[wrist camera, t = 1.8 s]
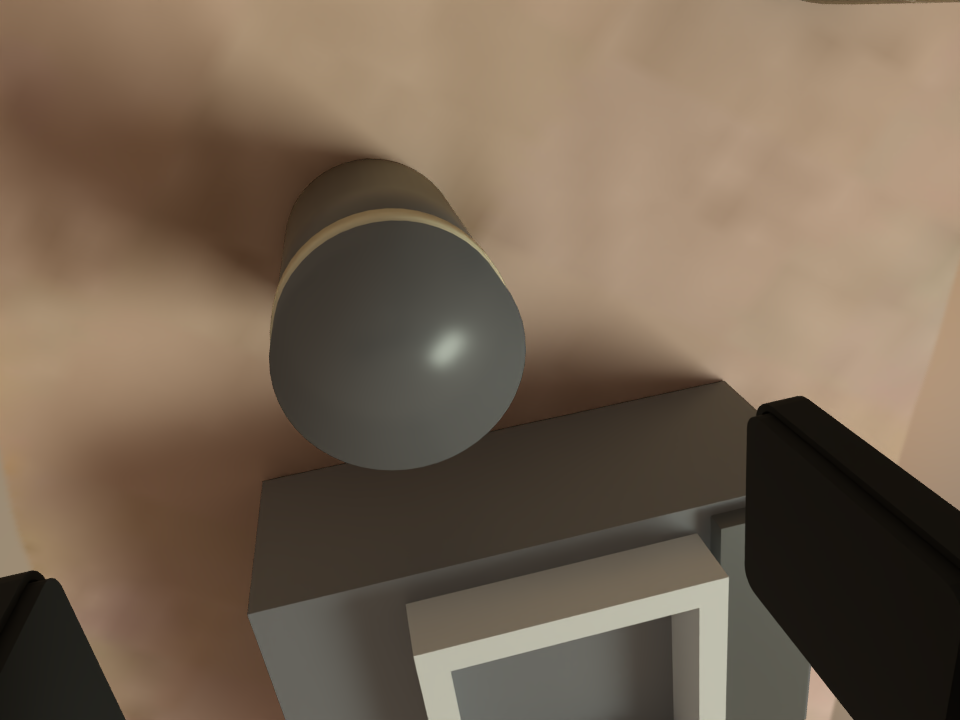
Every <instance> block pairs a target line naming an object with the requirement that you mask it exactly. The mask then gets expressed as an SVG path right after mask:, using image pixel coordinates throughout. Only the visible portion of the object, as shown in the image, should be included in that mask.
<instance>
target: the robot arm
mask: <svg viewBox="0 0 960 720" xmlns="http://www.w3.org/2000/svg"><path fill="white" fill-rule="evenodd" d="M744 565H745V573H746V577H747V580H748V583H749V585H750V587H751V589H752V590H753V592H754V593H755V595H756V596H757V597H758V599H759V600H760V601H761V602H762V604H763V605H764V606H765V608H766V609H767V610H768V611H769V613H770V614H771V615H772V616H773V618H774V619H775V620H776V622H777V623H778V624H779V625H780V627H781V628H782V629H783V630H784V632H785V633H786V634H787V636H788V637H789V638H790V639H791V641H792V642H793V643H794V644H795V646H796V647H797V648H798V650H799V651H800V652H801V653H802V655H803V656H804V657H805V658H806V660H807V661H808V662H809V664H810V665H811V666H812V667H813V669H814V670H815V671H816V672H817V674H818V675H819V676H820V678H821V679H822V680H823V681H824V683H825V684H826V685H827V686H828V688H829V689H830V690H831V692H832V693H833V694H834V695H835V697H836V698H837V699H838V700H839V702H840V703H841V704H842V706H843V707H844V708H845V709H846V710H847V712H848V713H849V714H850V716H851V717H852V718H853V719H854V720H960V511H959V510H958V509H956V508H955V507H953V506H952V505H951V504H949V503H948V502H947V501H945V500H944V499H943V498H941V497H940V496H939V495H937V494H936V493H934V492H933V491H932V490H930V489H929V488H928V487H926V486H925V485H924V484H922V483H921V482H920V481H918V480H917V479H916V478H914V477H913V476H911V475H910V474H909V473H907V472H906V471H905V470H903V469H902V468H901V467H899V466H898V465H897V464H895V463H894V462H893V461H891V460H890V459H889V458H887V457H886V456H884V455H883V454H882V453H880V452H879V451H878V450H876V449H875V448H874V447H872V446H871V445H870V444H868V443H867V442H866V441H864V440H863V439H861V438H860V437H859V436H857V435H856V434H855V433H853V432H852V431H851V430H849V429H848V428H847V427H845V426H844V425H843V424H841V423H840V422H838V421H837V420H836V419H834V418H833V417H832V416H830V415H829V414H828V413H826V412H825V411H824V410H822V409H821V408H820V407H818V406H817V405H815V404H814V403H813V402H811V401H810V400H809V399H807V398H805V397H803V396H796V397H792V398H787V399H783V400H778V401H774V402H770V403H765V404H762V405H761V406H760V407H759V408H758V410H757V413H756V416H754V417H751V418H750V419H749V421H748V423H747V446H746V504H745V561H744ZM0 720H125V718H124V715H123V713H122V711H121V709H120V707H119V705H118V703H117V701H116V699H115V697H114V695H113V692H112V690H111V688H110V686H109V684H108V682H107V680H106V678H105V676H104V674H103V672H102V669H101V667H100V665H99V663H98V661H97V659H96V657H95V655H94V653H93V651H92V649H91V646H90V644H89V642H88V640H87V638H86V636H85V634H84V632H83V630H82V628H81V625H80V623H79V621H78V619H77V617H76V615H75V613H74V611H73V609H72V607H71V605H70V602H69V600H68V598H67V596H66V594H65V592H64V590H63V588H62V586H61V584H60V583H59V582H58V581H57V580H56V579H54V578H49V579H45V578H44V577H43V575H42V574H40V573H39V572H38V571H33V570H32V571H28V572H24V573H19V574H15V575H11V576H6V577H2V578H0Z"/></svg>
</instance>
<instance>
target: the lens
mask: <svg viewBox="0 0 960 720" xmlns="http://www.w3.org/2000/svg"><path fill="white" fill-rule="evenodd" d="M525 354H526V346H525V333H524V328H523V323H522V319H521V316H520V313H519V310H518V308H517V306H516V304H515V302H514V300H513V298H512V296H511V294H510V292H509V291H508V289H507V288H506V285H505V283H504V281H503V279H502V277H501V276H500V274H499V272H498V271H497V269H496V268H495V266H494V265H493V263H492V262H491V260H490V259H489V258H488V256H487V255H486V253H485V252H484V251H483V249H482V248H481V247H480V246H479V245H478V244H477V243H476V242H475V241H474V240H473V238H472V237H471V235H470V234H469V232H468V231H467V229H466V228H465V227H464V225H463V224H462V222H461V221H460V219H459V218H458V216H457V215H456V213H455V212H454V210H453V209H452V207H451V206H450V205H449V203H448V202H447V200H446V199H445V197H444V196H443V195H442V193H441V192H440V190H439V189H438V188H437V187H436V186H435V185H434V184H433V183H432V182H431V181H430V180H428V179H427V178H426V177H425V176H423V175H422V174H420V173H419V172H417V171H415V170H414V169H412V168H409V167H407V166H405V165H403V164H399V163H396V162H393V161H387V160H381V159H364V160H355V161H351V162H347V163H344V164H341V165H339V166H336V167H333V168H332V169H330V170H328V171H326V172H324V173H323V174H322V175H320V176H319V177H318V178H316V179H315V180H314V181H313V182H312V183H311V184H310V185H309V186H308V187H307V188H306V189H305V190H304V191H303V192H302V194H301V195H300V196H299V198H298V200H297V201H296V203H295V205H294V207H293V209H292V211H291V214H290V216H289V219H288V224H287V228H286V234H285V241H284V248H283V255H282V263H281V270H280V277H279V284H278V287H277V290H276V294H275V298H274V303H273V309H272V316H271V326H270V352H269V364H270V375H271V380H272V385H273V389H274V391H275V394H276V397H277V400H278V402H279V404H280V406H281V408H282V410H283V411H284V413H285V415H286V417H287V418H288V419H289V421H290V422H291V423H292V425H293V426H294V427H295V429H296V430H297V431H298V432H299V433H300V434H301V435H302V436H303V437H304V438H305V439H306V440H308V441H309V442H310V443H312V444H313V445H314V446H316V447H317V448H318V449H320V450H322V451H323V452H325V453H327V454H328V455H330V456H332V457H334V458H337V459H339V460H341V461H344V462H346V463H349V464H353V465H356V466H360V467H365V468H370V469H377V470H407V469H413V468H419V467H424V466H428V465H431V464H435V463H438V462H441V461H443V460H446V459H448V458H451V457H453V456H455V455H457V454H458V453H460V452H462V451H464V450H466V449H467V448H469V447H470V446H472V445H473V444H475V443H476V442H477V441H479V440H480V439H481V438H482V437H483V436H484V435H486V434H487V433H488V432H489V431H490V430H491V429H492V428H493V427H494V426H495V425H496V423H497V422H498V421H499V420H500V419H501V417H502V416H503V415H504V413H505V412H506V410H507V409H508V408H509V406H510V404H511V402H512V400H513V398H514V396H515V395H516V392H517V389H518V387H519V384H520V381H521V378H522V374H523V369H524V364H525Z"/></svg>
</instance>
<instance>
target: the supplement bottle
mask: <svg viewBox="0 0 960 720" xmlns="http://www.w3.org/2000/svg"><path fill="white" fill-rule="evenodd" d="M802 1H805V2H811V3H819V4H896V3H943V2H960V0H802Z"/></svg>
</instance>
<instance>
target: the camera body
mask: <svg viewBox="0 0 960 720" xmlns="http://www.w3.org/2000/svg"><path fill="white" fill-rule="evenodd" d="M756 413H757V410H756V409H755V408H754V407H753V406H751V405H750V404H749V403H748V402H747V401H746V400H745V399H744V398H743V397H742V396H740V395H739V394H738V393H737V392H736V391H735V390H734V389H733V388H732V387H731V386H729V385H728V384H727V383H726V382H725V381H721V382H717V383H712V384H707V385H703V386H698V387H694V388H689V389H685V390H680V391H675V392H671V393H666V394H662V395H657V396H652V397H648V398H643V399H639V400H634V401H630V402H625V403H620V404H616V405H611V406H607V407H602V408H597V409H593V410H588V411H584V412H579V413H575V414H570V415H565V416H561V417H556V418H552V419H547V420H543V421H538V422H533V423H529V424H524V425H520V426H515V427H510V428H506V429H501V430H497V431H492V432H488V433H487V434H486V435H484V436H483V437H482V438H481V439H480V440H479V441H477V442H476V443H475V444H473V445H472V446H470V447H469V448H467V449H466V450H464V451H462V452H460V453H458V454H457V455H455V456H453V457H451V458H448V459H446V460H443V461H441V462H438V463H435V464H431V465H428V466H424V467H419V468H413V469H407V470H377V469H370V468H365V467H360V466H356V465H353V464H349V463H346V464H341V465H336V466H332V467H327V468H323V469H318V470H313V471H309V472H304V473H300V474H295V475H291V476H286V477H281V478H277V479H272V480H268V481H263V484H262V492H261V501H260V510H259V518H258V527H257V536H256V544H255V553H254V561H253V570H252V579H251V587H250V596H249V605H248V613H247V615H248V618H249V621H250V623H251V626H252V629H253V632H254V634H255V637H256V640H257V643H258V645H259V648H260V651H261V654H262V656H263V659H264V662H265V665H266V667H267V670H268V673H269V676H270V678H271V681H272V684H273V687H274V690H275V692H276V695H277V698H278V701H279V703H280V706H281V709H282V712H283V714H284V717H285V720H804V719H806V713H807V702H808V692H809V681H810V670H811V665H810V664H809V662H808V661H807V660H806V658H805V657H804V656H803V655H802V653H801V652H800V651H799V650H798V648H797V647H796V646H795V644H794V643H793V642H792V641H791V639H790V638H789V637H788V636H787V634H786V633H785V632H784V630H783V629H782V628H781V627H780V625H779V624H778V623H777V622H776V620H775V619H774V618H773V616H772V615H771V614H770V613H769V611H768V610H767V609H766V608H765V606H764V605H763V604H762V602H761V601H760V600H759V599H758V597H757V596H756V595H755V593H754V592H753V590H752V589H751V587H750V585H749V583H748V580H747V577H746V573H745V565H744V561H745V504H746V446H747V423H748V421H749V419H750V418H751V417H754V416H756Z"/></svg>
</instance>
